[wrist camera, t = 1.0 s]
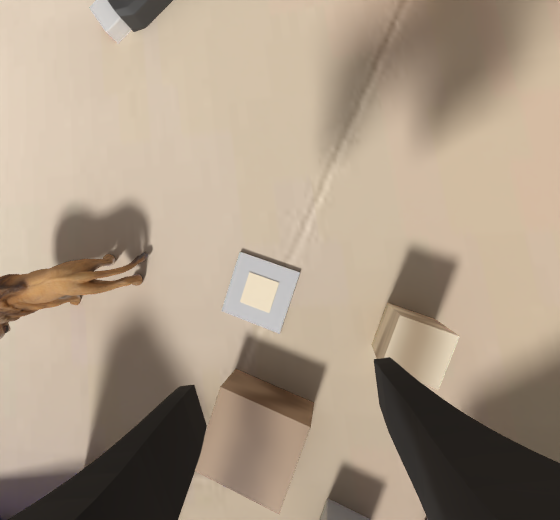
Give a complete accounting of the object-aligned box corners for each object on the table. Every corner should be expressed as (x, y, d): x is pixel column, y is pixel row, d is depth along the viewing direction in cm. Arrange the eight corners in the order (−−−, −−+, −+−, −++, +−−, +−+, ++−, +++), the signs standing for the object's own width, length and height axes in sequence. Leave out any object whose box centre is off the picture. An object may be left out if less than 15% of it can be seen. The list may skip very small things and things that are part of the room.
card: (300, 272, 26) (299, 272, 26) (280, 332, 26) (279, 334, 26) (240, 251, 27) (239, 251, 27) (222, 310, 28) (221, 311, 27)
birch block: (434, 318, 24) (459, 336, 19) (417, 362, 24) (438, 390, 19) (387, 302, 25) (399, 315, 20) (371, 344, 25) (380, 367, 20)
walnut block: (314, 401, 26) (310, 427, 22) (287, 476, 27) (279, 514, 23) (236, 367, 28) (220, 386, 24) (213, 440, 29) (193, 470, 25)
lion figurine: (54, 328, 32) (-55, 358, 23) (36, 285, 32) (-78, 298, 23) (160, 275, 29) (83, 286, 20) (140, 228, 29) (55, 218, 20)
